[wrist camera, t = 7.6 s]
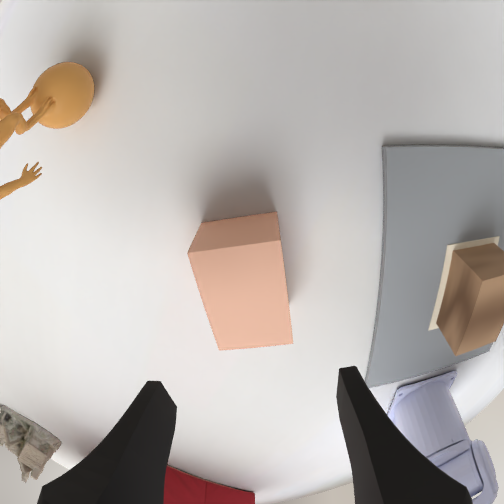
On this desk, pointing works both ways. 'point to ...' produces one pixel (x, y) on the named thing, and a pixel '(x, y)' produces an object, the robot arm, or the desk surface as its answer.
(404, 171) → the board
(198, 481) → the storage cube
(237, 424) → the desk surface
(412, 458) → the robot arm
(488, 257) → the walnut block
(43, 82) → the figurine
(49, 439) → the stone castle ruin
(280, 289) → the terracotta block
